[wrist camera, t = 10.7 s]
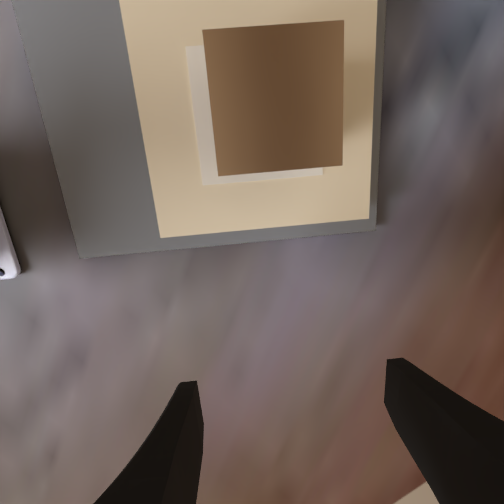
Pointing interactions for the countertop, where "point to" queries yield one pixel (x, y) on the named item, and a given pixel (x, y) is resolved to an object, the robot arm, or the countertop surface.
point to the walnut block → (276, 96)
